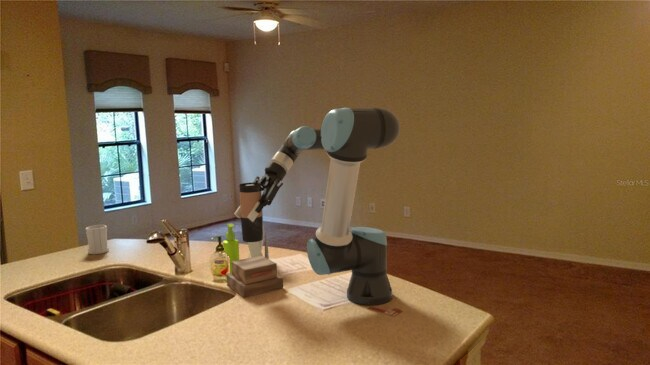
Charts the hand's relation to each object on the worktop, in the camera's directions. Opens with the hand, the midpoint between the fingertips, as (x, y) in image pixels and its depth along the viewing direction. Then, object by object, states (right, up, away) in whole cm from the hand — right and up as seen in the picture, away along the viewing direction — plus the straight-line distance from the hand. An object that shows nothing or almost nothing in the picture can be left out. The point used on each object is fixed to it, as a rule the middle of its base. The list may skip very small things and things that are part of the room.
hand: (243, 217), depth 162 cm
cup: (-78, -20, +56) cm, 98 cm away
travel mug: (+3, -8, +4) cm, 9 cm away
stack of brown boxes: (+3, -25, +6) cm, 26 cm away
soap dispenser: (-8, -24, +20) cm, 32 cm away
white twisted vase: (-1, -21, +37) cm, 42 cm away
